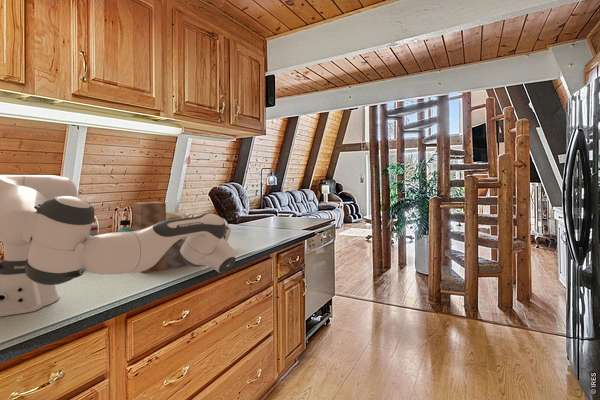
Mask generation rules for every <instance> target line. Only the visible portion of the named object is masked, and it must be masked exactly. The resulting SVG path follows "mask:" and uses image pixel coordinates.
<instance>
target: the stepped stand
mask: <svg viewBox="0 0 600 400" xmlns="http://www.w3.org/2000/svg"><path fill="white" fill-rule="evenodd" d="M166 212H167V203H166V202H162V201H141V202H140V201H139V202H132V222H133V227H132V229H133V231H138V230H141V229H145V228H148V227H150V226H153V225H154V224H156V223H158V222H161V221H165V220H168V219H166ZM184 242H185V240H182V239H180V240H178V241H177V242H175V243H174V244H173V245H172V246H171V247H170V248H169V249H168V250H167V252H166V253H165V254H164V255H163V256H162V257H161V259H160V260H159V261H158V262H157V263H156V264H155V265H154V266H153V267H151V268H149V269H147V270H144V271H141V272H140V273H142V274H146V273H150V272H151V273H152V272H156V271H157V272H158V271H162V270H168V269H174V268H179V267H180V268H181V267H184V266H185V267H186V266H189V265H188V264H187V263H186V262H185V261H184V260H183V258H182V257H181V255H180V249H181V247H182V245H183V243H184Z"/></svg>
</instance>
